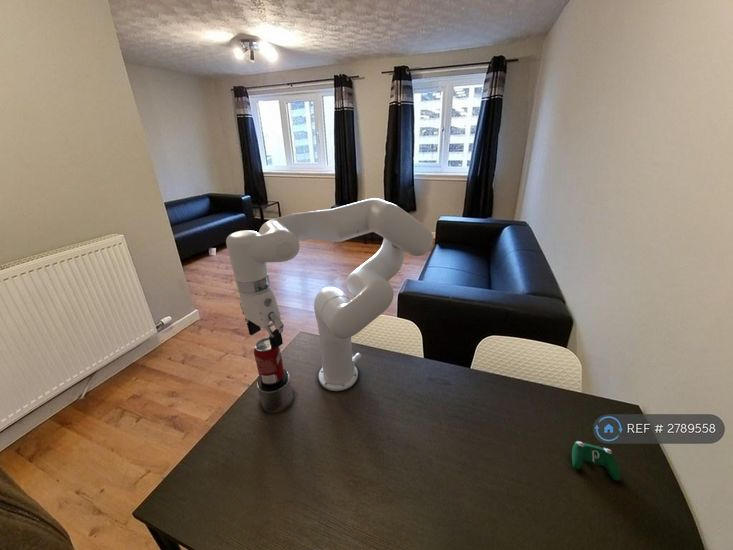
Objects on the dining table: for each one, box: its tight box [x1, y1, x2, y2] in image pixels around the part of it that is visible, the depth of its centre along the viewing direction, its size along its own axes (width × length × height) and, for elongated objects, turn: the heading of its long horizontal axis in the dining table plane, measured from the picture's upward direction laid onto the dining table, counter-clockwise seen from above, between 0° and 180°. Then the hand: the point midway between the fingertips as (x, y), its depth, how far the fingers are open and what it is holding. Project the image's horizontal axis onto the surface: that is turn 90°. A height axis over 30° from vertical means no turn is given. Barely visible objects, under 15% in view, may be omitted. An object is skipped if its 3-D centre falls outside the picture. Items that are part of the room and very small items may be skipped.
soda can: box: [253, 336, 285, 385], centre depth 83 cm, size 7×7×12 cm
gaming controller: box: [571, 440, 621, 481], centre depth 71 cm, size 9×4×6 cm
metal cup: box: [256, 368, 294, 413], centre depth 88 cm, size 9×9×9 cm
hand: (266, 339), depth 80 cm, fingers open, 9 cm apart
